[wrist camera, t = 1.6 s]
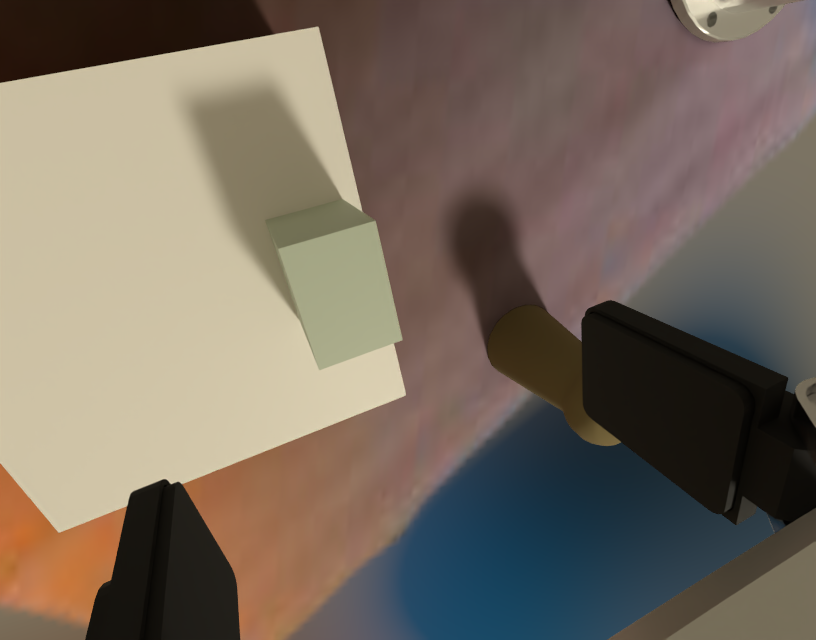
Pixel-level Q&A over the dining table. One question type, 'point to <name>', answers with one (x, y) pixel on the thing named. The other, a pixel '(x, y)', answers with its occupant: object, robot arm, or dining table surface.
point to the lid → (181, 271)
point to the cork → (545, 365)
